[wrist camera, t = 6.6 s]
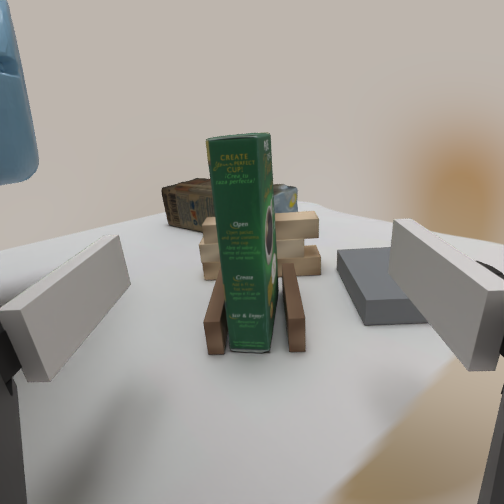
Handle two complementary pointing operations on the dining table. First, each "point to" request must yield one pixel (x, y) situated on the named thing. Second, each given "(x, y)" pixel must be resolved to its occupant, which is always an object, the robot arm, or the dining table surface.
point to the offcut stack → (287, 239)
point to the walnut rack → (293, 311)
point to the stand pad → (375, 287)
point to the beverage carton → (211, 202)
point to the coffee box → (245, 235)
